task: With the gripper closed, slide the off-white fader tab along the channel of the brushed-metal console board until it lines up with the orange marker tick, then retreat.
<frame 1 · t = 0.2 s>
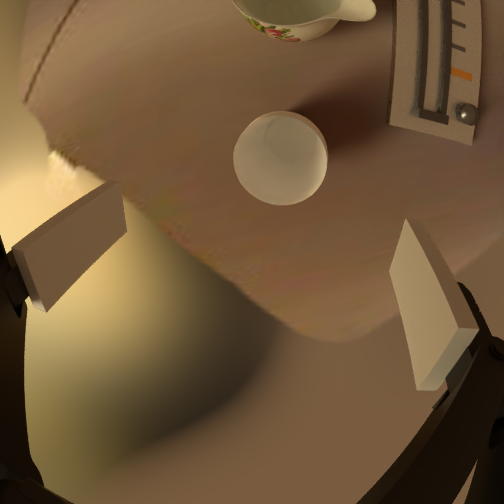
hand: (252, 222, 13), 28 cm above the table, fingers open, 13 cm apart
cup: (290, 139, 38), on the table
pitcher: (288, 7, 28), on the table
console: (436, 20, 24), on the table
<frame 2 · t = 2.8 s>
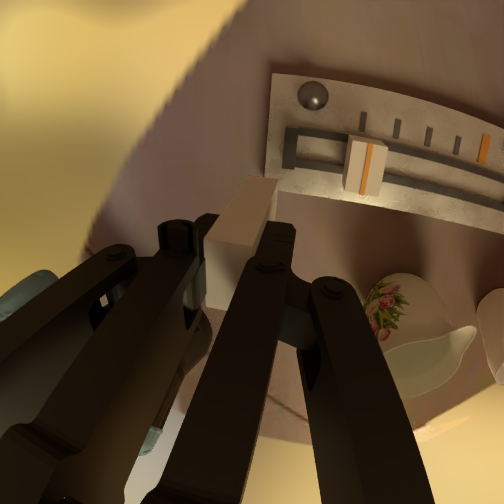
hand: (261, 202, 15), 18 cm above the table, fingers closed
cup: (493, 304, 35), on the table
fader: (362, 161, 25), point 5 cm above the table, slide at -7.0 cm
pitcher: (391, 297, 38), on the table
console: (418, 154, 28), on the table
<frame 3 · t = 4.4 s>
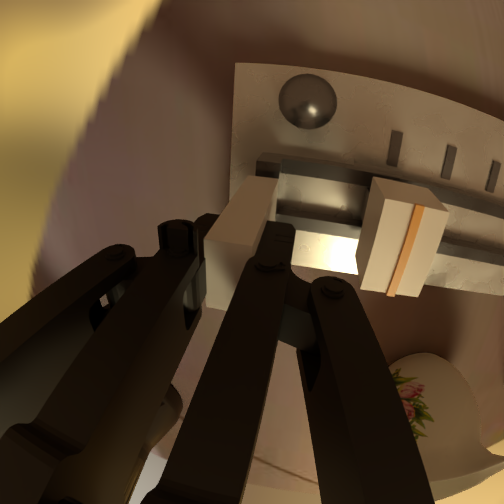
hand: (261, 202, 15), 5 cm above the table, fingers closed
fader: (393, 226, 14), point 5 cm above the table, slide at -7.0 cm
pitcher: (406, 377, 27), on the table
console: (470, 199, 17), on the table
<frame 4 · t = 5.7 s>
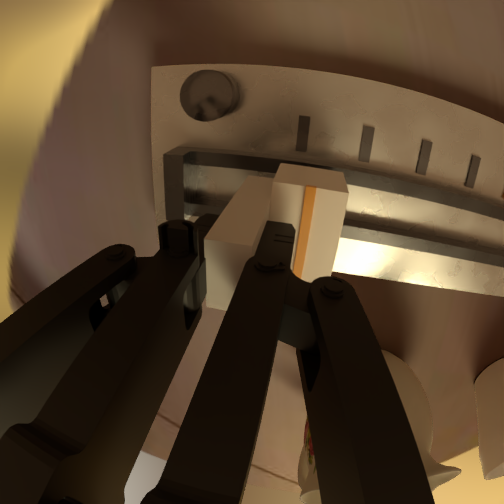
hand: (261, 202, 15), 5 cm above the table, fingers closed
cup: (497, 372, 25), on the table
fader: (305, 212, 15), point 5 cm above the table, slide at -6.3 cm, touching gripper
pitcher: (359, 374, 28), on the table
console: (406, 185, 18), on the table
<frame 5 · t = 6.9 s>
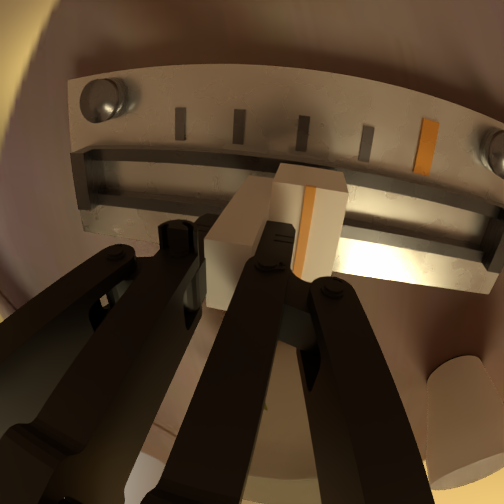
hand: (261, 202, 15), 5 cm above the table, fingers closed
cup: (454, 373, 26), on the table
fader: (305, 212, 15), point 5 cm above the table, slide at 0.7 cm, touching gripper
pitcher: (291, 365, 28), on the table
console: (299, 165, 19), on the table
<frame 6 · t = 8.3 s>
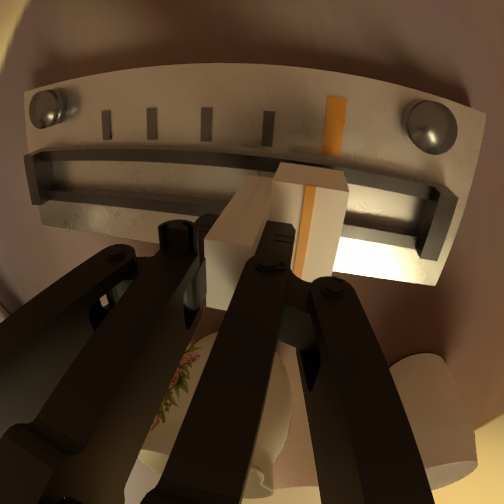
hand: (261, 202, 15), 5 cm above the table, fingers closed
cup: (414, 371, 26), on the table
fader: (306, 212, 15), point 5 cm above the table, slide at 6.0 cm, touching gripper
pitcher: (237, 356, 29), on the table
console: (216, 156, 19), on the table
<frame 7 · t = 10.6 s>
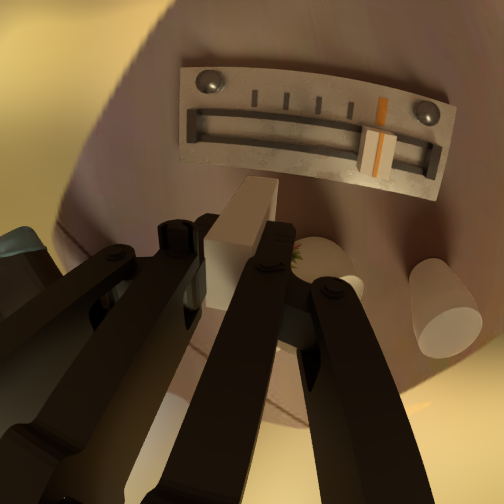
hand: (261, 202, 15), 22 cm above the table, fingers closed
cup: (428, 276, 40), on the table
fader: (373, 149, 29), point 5 cm above the table, slide at 6.2 cm
pitcher: (311, 263, 43), on the table
console: (316, 124, 33), on the table
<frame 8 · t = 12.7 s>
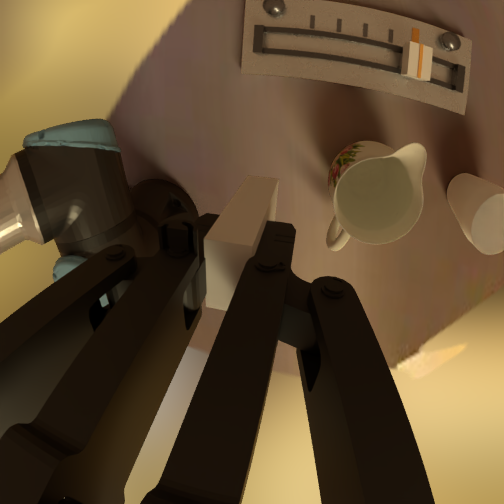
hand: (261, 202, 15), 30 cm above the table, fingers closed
cup: (462, 192, 40), on the table
fader: (414, 61, 28), point 5 cm above the table, slide at 6.2 cm
pitcher: (359, 174, 43), on the table
console: (362, 47, 33), on the table
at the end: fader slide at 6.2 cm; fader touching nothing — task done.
